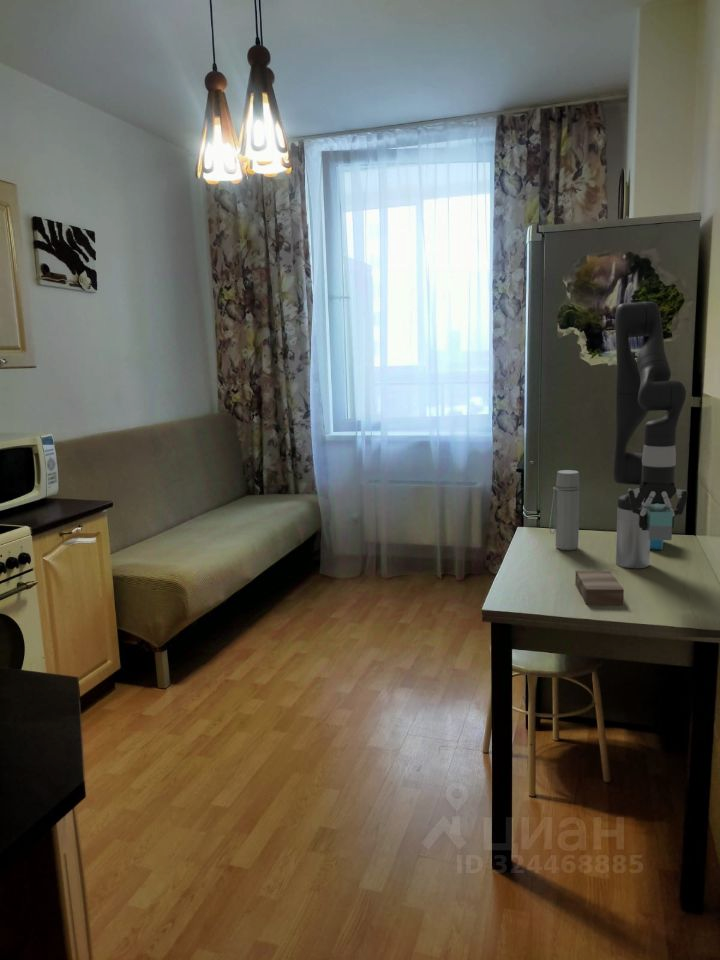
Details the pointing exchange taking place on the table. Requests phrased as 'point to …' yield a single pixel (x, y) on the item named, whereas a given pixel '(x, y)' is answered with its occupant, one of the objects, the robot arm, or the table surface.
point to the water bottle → (566, 509)
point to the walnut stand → (599, 588)
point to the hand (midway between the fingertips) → (655, 529)
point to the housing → (658, 522)
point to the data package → (656, 544)
